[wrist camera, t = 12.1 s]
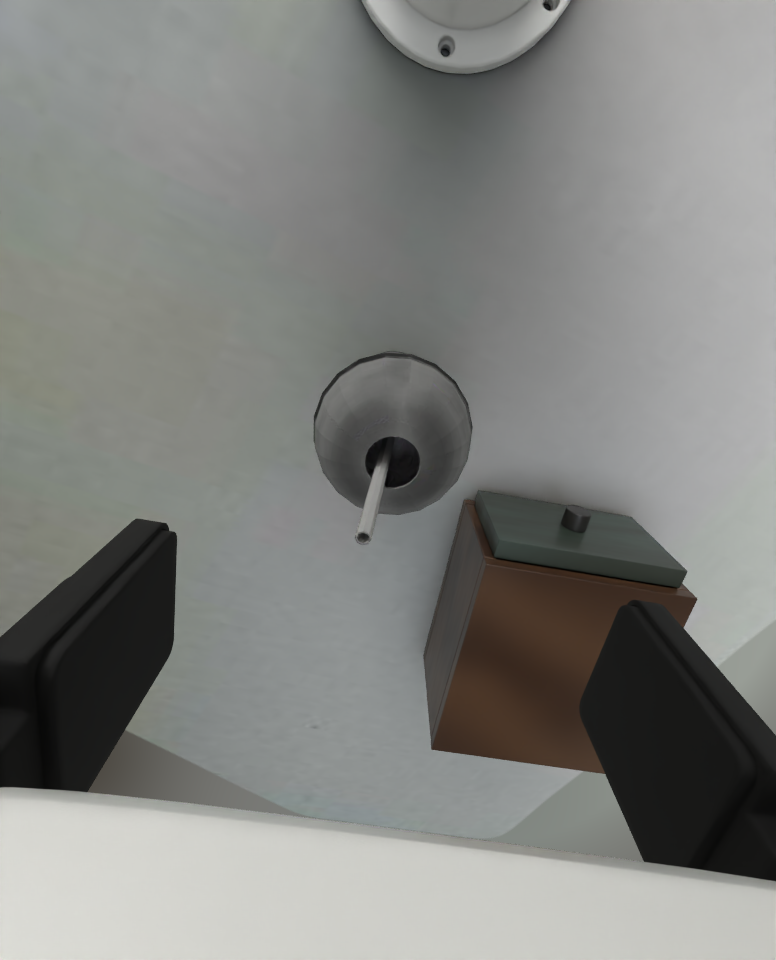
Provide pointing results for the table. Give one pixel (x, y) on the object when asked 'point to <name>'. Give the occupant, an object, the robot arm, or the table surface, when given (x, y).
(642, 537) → the drawer
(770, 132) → the table surface
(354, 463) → the beverage cup
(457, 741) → the cabinet
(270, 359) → the table surface
